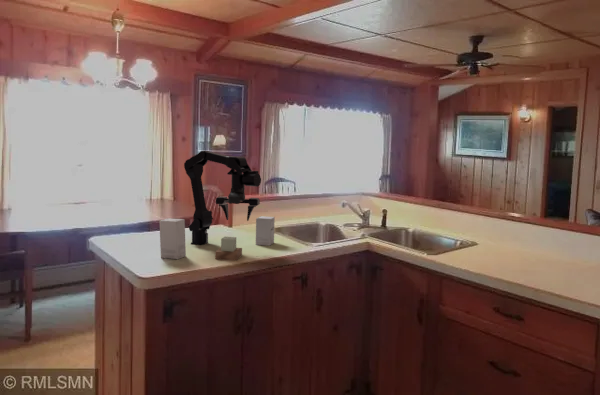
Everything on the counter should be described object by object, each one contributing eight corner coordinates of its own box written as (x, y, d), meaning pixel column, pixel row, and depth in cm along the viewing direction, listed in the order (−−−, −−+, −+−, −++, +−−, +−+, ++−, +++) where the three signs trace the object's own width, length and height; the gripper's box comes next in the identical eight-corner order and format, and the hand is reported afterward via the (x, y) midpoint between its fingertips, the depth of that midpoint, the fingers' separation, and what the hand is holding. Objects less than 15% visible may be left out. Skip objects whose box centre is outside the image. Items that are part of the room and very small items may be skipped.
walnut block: (215, 260, 188) (215, 251, 188) (221, 255, 197) (221, 246, 196) (236, 261, 187) (237, 252, 187) (241, 256, 196) (242, 247, 196)
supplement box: (270, 245, 215) (270, 219, 214) (255, 244, 217) (255, 218, 215) (274, 242, 222) (275, 216, 221) (259, 241, 224) (260, 215, 222)
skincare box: (186, 256, 191) (186, 219, 189) (176, 260, 185) (176, 221, 183) (168, 254, 194) (168, 217, 192) (159, 257, 187) (158, 219, 186)
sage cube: (221, 250, 189) (221, 238, 189) (224, 248, 194) (224, 236, 194) (232, 251, 188) (233, 239, 188) (236, 249, 193) (236, 237, 193)
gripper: (211, 186, 196) (211, 222, 198) (255, 187, 195) (254, 224, 196) (219, 184, 207) (219, 218, 209) (260, 185, 206) (259, 220, 207)
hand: (237, 220), depth 205 cm, fingers open, 9 cm apart
